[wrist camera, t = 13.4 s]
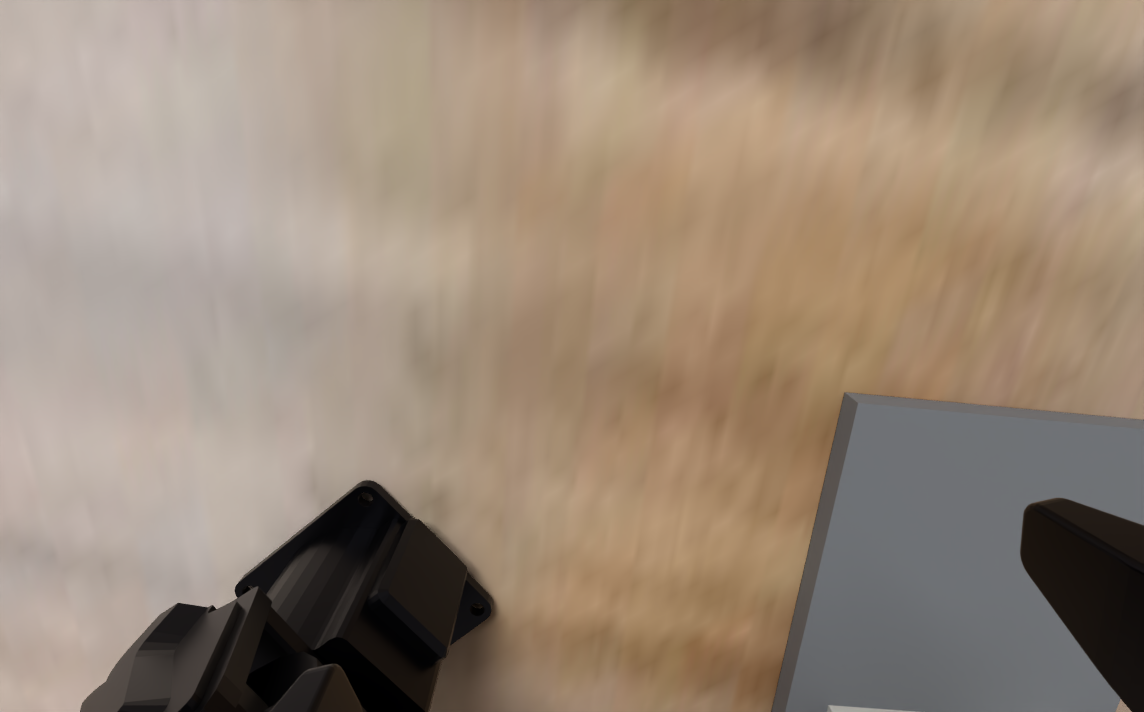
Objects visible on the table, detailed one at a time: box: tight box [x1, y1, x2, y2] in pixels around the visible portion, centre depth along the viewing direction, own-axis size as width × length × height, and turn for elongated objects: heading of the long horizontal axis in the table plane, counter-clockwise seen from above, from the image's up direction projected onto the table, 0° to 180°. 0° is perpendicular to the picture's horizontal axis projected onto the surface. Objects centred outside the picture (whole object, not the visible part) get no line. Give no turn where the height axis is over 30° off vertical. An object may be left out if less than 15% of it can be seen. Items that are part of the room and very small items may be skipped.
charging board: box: [772, 392, 1144, 712], centre depth 24 cm, size 22×12×1 cm, turn 174°
